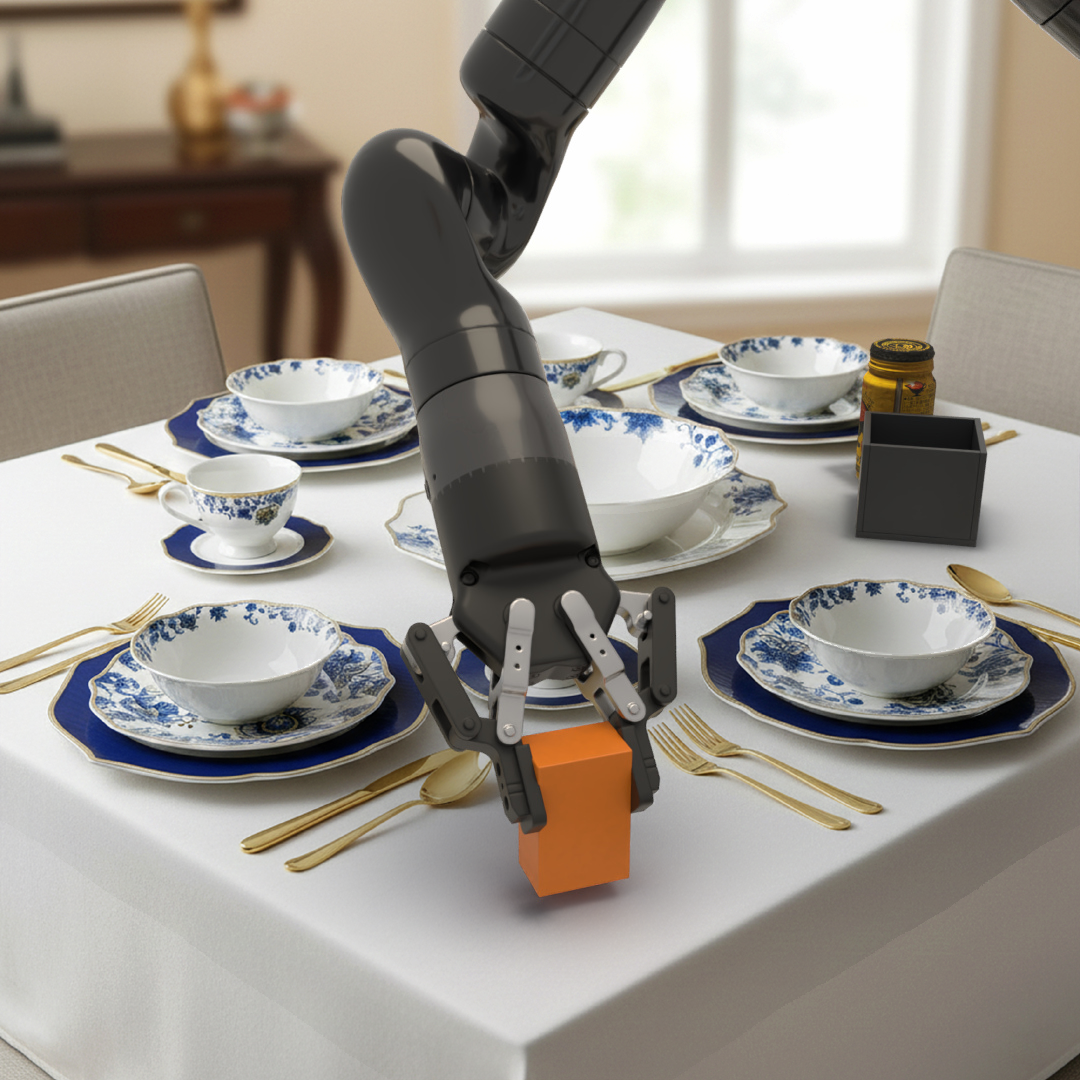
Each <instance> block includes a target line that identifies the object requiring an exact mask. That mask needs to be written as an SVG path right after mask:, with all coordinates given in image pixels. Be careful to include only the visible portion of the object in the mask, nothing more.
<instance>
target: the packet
mask: <svg viewBox="0 0 1080 1080" xmlns="http://www.w3.org/2000/svg"><path fill="white" fill-rule="evenodd" d="M521 739H522V743H523V745H524V744H529V745H530V749H531V753H532V757H533V758H532V762H533V766H534V770H535V774H536V778H537V782H538V785H539V786H540V790H541V794H542V798H543V802H544V806H545V810H546V814H547V824H546V826H545V827H544V828H543V829H542V830H541V831H540V832H535V833H530V834H524V833H523V832H522V829H521V826H520V822H519V823H517V824H518V827H517V828H518V830H517V831H518V864H519V866H520V868H521V869H522V871H523V872H524V874H525V876H526V878H527V879H528V881H529V883H530V884H531V886H532V888H533V889H534V891H535V893H536V894H537V896H538V897H539V898H543V897H547V896H551V895H552V896H553V895H557V894H561V893H567V892H570V891H576V890H581V889H584V888H589V887H594V886H598V885H603V884H607V883H612V882H617V881H623V880H626V879H630V872H631V871H630V869H631V867H630V866H631V865H630V864H631V826H632V824H631V823H632V814H631V772H632V750H631V748H630V747H629V746H628V745H627V743H626V742H625V741H624V740H623V739H622V738H621V736H620V735H619V734H618V733H617V731H616V730H615V729H614V727H613V726H612V725H611V724H610V722H609V721H600V722H594V723H589V724H583V725H577V726H571V727H566V728H560V729H555V730H550V731H544V732H539V733H538V732H537V733H533V734H527V735H522V737H521Z"/></svg>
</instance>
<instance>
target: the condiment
mask: <svg viewBox="0 0 1080 1080" xmlns="http://www.w3.org/2000/svg"><path fill="white" fill-rule="evenodd" d="M935 356H936V351H935V349H934V346H933V345H932V344H930V343H929V342H926V341H923V340H918V339H912V338H902V337H901V338H900V337H899V338H898V337H895V338H893V337H892V338H882V339H878V340H876V341H874V342H872V343H871V345H870V348H869V361H868V363H867V367H868V370H867V371H866V372H865V374H864V375H863V377H862V384H861V396H860V397H861V398H860V411H859V421H858V430H857V439H856V441H857V444H856V457H855V471H856V472H855V478H856V480H857V481H859V473H860V462H861V451H862V440H863V429H864V418H865V411H871V412H872V411H877V412H892V413H908V414H923V415H934V413H935V404H936V403H935V402H936V393H937V379H936V378H935V376H934V375H933V371H934V370H935V361H934V358H935Z"/></svg>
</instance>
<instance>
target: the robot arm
mask: <svg viewBox="0 0 1080 1080" xmlns="http://www.w3.org/2000/svg"><path fill="white" fill-rule="evenodd" d="M1009 1H1010V2H1011V3H1012V4H1013V5H1014V6H1015V7H1017V9H1018V10H1019V11H1021V13H1023V14H1024V15H1025V16H1026V17H1027V18H1028V19H1029V20H1030V21H1032V23H1034V24H1035V25H1038V27H1039V29H1041V30H1042V31H1043V32H1045V33H1046V34H1047V35H1048V36H1049V37H1050V38H1051V39H1052V40H1054V41H1055V42H1056V43H1057V44H1059V45H1060V46H1061V47H1062V48H1064V49H1065V50H1066V51H1067V52H1069V53H1070V54H1071V55H1072V56H1073V57H1074V58H1075V59H1077V60H1078V61H1079V62H1080V0H1009ZM666 2H667V0H501V1H500V2H499V3H498V4H497V6H496V8H495V9H494V10H493V12H492V13H491V15H490V16H489V18H488V19H487V21H486V22H485V24H484V26H483V27H484V28H481V29H480V31H479V33H478V34H477V35H476V36H475V38H474V39H473V41H472V43H471V44H470V46H469V48H468V49H467V50H466V53H465V54H464V56H463V58H462V60H461V63H460V66H459V72H458V73H459V74H458V76H459V77H458V78H459V82H460V84H461V86H462V88H463V90H464V91H465V94H466V95H467V97H468V99H470V101H471V102H472V103H473V105H474V106H475V107H476V109H477V111H478V120H477V124H476V127H475V130H474V133H473V135H472V138H471V141H470V144H469V147H468V149H467V151H466V154H465V155H464V154H462V153H461V152H460V151H458V150H456V148H454V147H452V146H451V145H449V144H448V143H446V142H445V141H444V140H442V139H441V138H439V137H436V136H435V135H433V134H431V133H428V132H426V131H423V130H420V129H416V128H410V127H409V128H408V127H395V128H390V129H387V130H384V131H381V132H379V133H377V134H376V135H374V136H372V137H370V138H369V139H368V140H367V141H365V142H364V143H363V144H362V145H361V147H360V148H359V149H358V150H357V152H356V153H355V155H354V156H353V158H352V159H351V161H350V163H349V165H348V167H347V170H346V173H345V175H344V179H343V183H342V188H341V197H340V198H341V199H340V200H341V201H340V209H341V210H340V211H341V220H342V222H341V223H342V226H343V232H344V236H345V239H346V243H347V245H348V248H349V252H350V254H351V257H352V259H353V261H354V264H355V266H356V268H357V270H358V272H359V275H360V276H361V279H362V282H364V283H363V284H364V285H365V287H366V289H367V291H368V293H369V295H370V296H371V298H372V301H373V303H374V305H375V307H376V310H377V311H378V314H379V316H380V317H381V319H382V321H383V323H384V325H385V327H386V328H387V330H388V331H389V333H390V336H392V338H393V341H394V343H396V346H397V348H398V350H399V353H400V355H401V359H402V366H403V370H404V375H405V379H406V383H407V387H408V391H409V395H410V400H411V405H412V409H413V413H414V417H415V421H416V427H417V432H418V433H417V434H418V442H419V455H420V463H421V468H422V474H423V477H424V485H423V486H424V492H425V495H426V499H427V500H428V502H429V504H430V508H431V512H432V515H433V519H434V523H435V527H436V532H437V537H438V541H439V545H440V549H441V554H442V558H443V562H444V567H445V570H446V574H447V575H446V576H447V579H448V583H449V587H450V592H451V594H452V601H451V602H452V603H451V609H450V610H449V614H448V616H446V617H444V618H442V619H439V620H437V621H435V622H433V623H430V624H427V623H425V622H414V623H413V624H412V625H410V626H409V628H408V630H407V632H406V634H405V637H404V639H403V641H402V643H401V646H400V648H399V656H400V658H401V660H402V662H403V663H404V666H405V667H406V669H407V671H408V673H409V675H410V676H411V678H412V680H413V683H414V684H415V686H416V688H417V689H418V691H419V694H420V695H421V697H422V699H423V701H424V702H425V705H426V706H427V708H428V710H429V712H430V714H431V716H432V717H433V720H434V721H435V723H436V725H437V727H438V729H439V731H440V732H441V734H442V736H443V738H444V740H445V742H446V744H447V746H448V747H449V748H450V750H452V751H454V752H458V753H461V752H462V753H463V752H465V751H473V752H477V753H482V754H484V755H486V756H487V757H488V758H489V760H490V761H491V762H492V765H493V769H494V774H495V778H496V782H497V786H498V791H499V794H500V795H499V796H500V799H501V802H502V807H503V812H504V815H505V817H506V818H507V820H508V821H509V822H510V824H511V825H514V824H518V823H519V822H520V826H521V829H522V832H523V833H524V834H530V833H535V832H540V831H541V830H542V829H543V828H544V827H545V826H546V824H547V814H546V810H545V806H544V802H543V798H542V794H541V790H540V786H539V785H538V782H537V778H536V774H535V770H534V766H533V762H532V758H533V757H532V753H531V749H530V745H529V744H524V745H523V743H522V739H521V737H522V736H523V732H524V721H525V710H526V709H525V708H526V707H525V706H526V698H527V695H528V691H529V687H533V686H535V685H537V684H539V683H542V682H544V681H545V680H555V681H568V680H573V682H574V684H575V685H576V687H577V689H578V690H579V692H580V693H581V695H582V696H583V698H585V699H586V700H587V701H590V702H591V704H592V705H593V706H594V708H595V710H596V712H597V713H598V714H599V716H600V718H601V719H602V722H604V721H609V722H610V724H611V725H612V726H613V727H614V729H615V730H616V731H617V733H618V734H619V735H620V736H621V738H622V739H623V740H624V741H625V742H626V743H627V745H628V746H629V747H630V748H631V750H632V772H631V815H632V814H637V813H642V812H645V811H646V810H647V809H648V808H650V807H651V806H652V805H653V804H654V794H656V793H657V792H658V791H659V790H660V786H661V785H660V783H661V775H660V772H659V769H658V766H657V761H656V758H655V754H654V750H653V747H652V743H651V740H650V736H649V733H648V729H647V723H648V721H649V720H651V719H655V718H657V717H658V716H659V715H660V714H661V713H662V712H663V711H664V709H666V708H667V706H669V705H670V704H671V703H672V702H674V700H676V698H677V696H678V666H677V665H678V664H677V660H678V659H677V656H678V655H677V609H676V608H677V606H676V605H677V603H676V601H677V600H676V595H675V593H674V592H673V590H672V589H670V588H669V587H666V586H658V587H656V588H654V590H653V591H652V592H651V593H647V592H639V591H632V590H623V589H620V588H619V585H618V583H617V582H616V581H615V580H614V579H613V578H612V577H611V576H610V575H609V574H608V572H607V571H606V569H605V567H604V564H603V562H602V556H601V551H600V547H599V546H600V545H599V542H598V538H597V535H596V532H595V529H594V528H595V527H594V525H593V521H592V518H591V517H592V516H591V514H590V510H589V506H588V503H587V499H586V495H585V492H584V489H583V485H582V481H581V477H580V474H579V471H578V468H577V464H576V459H575V457H574V453H573V450H572V445H571V442H570V439H569V434H568V432H567V429H566V426H565V423H564V421H563V418H562V416H561V413H560V411H559V409H558V407H557V405H556V402H555V400H554V398H553V395H552V392H551V389H550V385H549V381H548V378H547V374H546V371H545V367H544V363H543V360H542V357H541V356H542V355H541V353H540V348H539V345H538V342H537V339H536V335H535V332H534V329H533V327H532V323H531V322H530V319H529V316H528V314H527V312H526V310H525V308H524V307H523V305H522V304H521V302H519V301H518V299H517V298H516V297H515V296H514V295H513V294H512V293H511V292H510V291H509V290H507V288H505V287H504V286H503V285H502V284H501V282H499V281H498V280H500V279H501V278H502V277H503V276H505V275H506V274H507V272H508V271H510V270H511V268H512V267H513V266H514V265H515V264H516V263H517V262H518V260H519V259H520V258H521V256H522V254H523V253H524V251H525V250H526V248H527V246H528V245H529V242H530V240H531V238H532V236H533V235H534V232H535V231H536V228H537V226H538V223H539V221H540V219H541V217H542V214H543V211H544V209H545V207H546V204H547V202H548V199H549V197H550V194H551V191H552V189H553V187H554V185H555V183H556V181H557V179H558V177H559V173H560V172H561V168H562V165H563V163H564V160H565V157H566V154H567V151H568V148H569V146H570V143H571V141H572V138H573V137H574V134H575V132H576V130H577V129H578V128H579V126H580V125H581V124H582V122H583V121H584V120H585V119H586V117H587V116H588V115H589V114H590V110H592V109H593V108H594V107H595V105H596V104H597V103H598V101H599V99H601V97H602V96H603V94H604V92H605V91H606V90H607V88H608V87H609V86H610V85H611V84H612V82H613V80H614V79H615V78H616V76H617V75H618V73H619V72H620V71H621V69H622V68H623V67H624V65H625V64H626V62H627V61H628V60H629V58H630V57H631V56H632V54H633V52H634V51H635V49H636V48H637V47H638V45H639V44H640V42H641V41H642V39H643V38H644V36H645V35H646V33H647V31H648V30H649V29H650V27H651V25H653V23H654V21H655V20H656V17H657V16H658V15H659V14H660V12H661V10H662V8H663V7H664V4H665V3H666ZM588 109H589V110H588ZM616 615H618V616H620V617H621V618H622V619H623V620H624V623H625V626H626V630H627V632H628V634H629V635H630V636H631V637H634V638H636V639H637V690H636V689H635V687H634V686H633V683H632V682H631V681H630V679H629V678H628V676H627V674H626V667H625V664H624V662H623V660H622V658H621V657H620V655H619V654H618V652H617V650H616V649H615V647H614V646H613V644H612V643H611V641H610V639H609V638H608V635H609V632H610V630H611V628H612V625H613V622H614V621H615V618H616ZM455 640H457V641H458V642H459V643H460V644H462V645H463V646H464V647H465V648H466V649H468V651H470V652H471V653H472V654H473V655H474V656H475V657H476V658H477V659H479V661H481V662H482V663H483V664H484V665H485V666H486V667H487V668H488V669H490V674H489V675H490V677H489V686H488V699H487V710H488V717H483V716H480V715H479V714H478V711H477V710H476V708H475V706H474V704H473V702H472V700H471V699H470V697H469V695H468V693H467V692H466V689H465V688H464V686H463V684H462V682H461V680H460V678H459V677H458V675H457V673H456V671H455V669H454V668H453V666H452V664H453V661H454V660H455V657H456V654H457V653H456V647H455V644H454V641H455Z"/></svg>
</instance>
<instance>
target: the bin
mask: <svg viewBox="0 0 1080 1080" xmlns="http://www.w3.org/2000/svg"><path fill="white" fill-rule="evenodd" d="M987 459H988V449H987V444H986V439H985V434H984V430H983V425H982V420H981V418H980V417H967V416H955V415H954V416H952V415H937V414H933V415H923V414H908V413H892V412H877V411H872V412H871V411H865V418H864V429H863V440H862V451H861V462H860V473H859V480H858V484H857V496H856V512H855V513H856V514H855V515H856V516H855V529H854V530H855V533H854V537H855V538H859V539H870V540H882V541H894V542H908V543H918V544H919V543H921V544H931V545H942V546H943V545H945V546H954V547H955V546H956V547H957V546H958V547H970V548H976V547H977V541H978V533H979V525H980V517H981V509H982V501H983V493H984V483H985V477H986V476H985V475H986V468H987Z"/></svg>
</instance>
